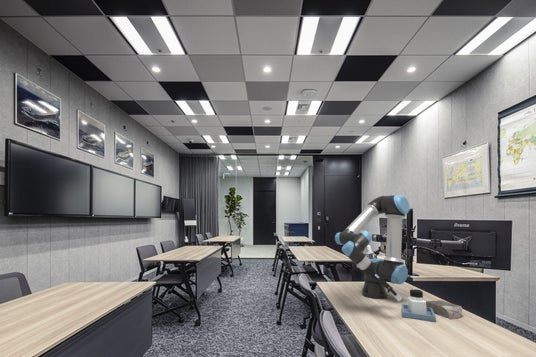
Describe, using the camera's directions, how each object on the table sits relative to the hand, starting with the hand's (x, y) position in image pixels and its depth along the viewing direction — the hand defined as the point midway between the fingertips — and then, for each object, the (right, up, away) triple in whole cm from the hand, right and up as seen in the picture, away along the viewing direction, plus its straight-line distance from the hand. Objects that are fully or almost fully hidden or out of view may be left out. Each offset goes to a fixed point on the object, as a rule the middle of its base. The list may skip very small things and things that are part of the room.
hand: (396, 295), depth 152 cm
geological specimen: (+26, -10, 0) cm, 28 cm away
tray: (+10, -9, -2) cm, 14 cm away
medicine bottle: (+10, -9, -2) cm, 13 cm away
